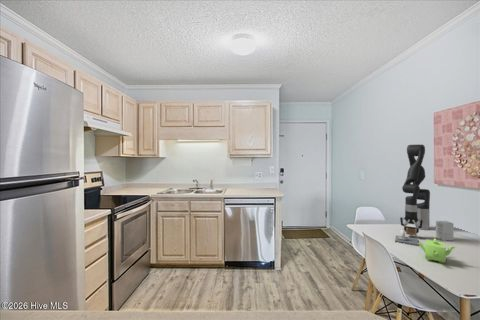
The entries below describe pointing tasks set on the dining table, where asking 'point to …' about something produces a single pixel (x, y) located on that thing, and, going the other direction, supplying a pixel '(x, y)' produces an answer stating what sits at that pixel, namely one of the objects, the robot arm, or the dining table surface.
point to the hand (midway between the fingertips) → (411, 232)
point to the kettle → (435, 250)
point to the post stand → (406, 239)
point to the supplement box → (444, 230)
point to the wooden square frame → (411, 230)
